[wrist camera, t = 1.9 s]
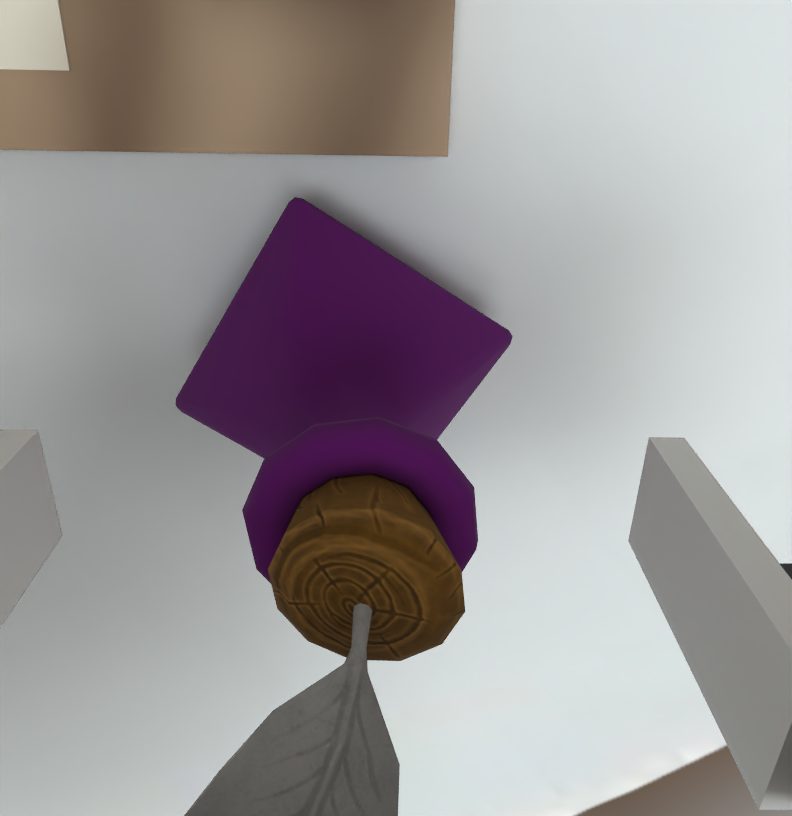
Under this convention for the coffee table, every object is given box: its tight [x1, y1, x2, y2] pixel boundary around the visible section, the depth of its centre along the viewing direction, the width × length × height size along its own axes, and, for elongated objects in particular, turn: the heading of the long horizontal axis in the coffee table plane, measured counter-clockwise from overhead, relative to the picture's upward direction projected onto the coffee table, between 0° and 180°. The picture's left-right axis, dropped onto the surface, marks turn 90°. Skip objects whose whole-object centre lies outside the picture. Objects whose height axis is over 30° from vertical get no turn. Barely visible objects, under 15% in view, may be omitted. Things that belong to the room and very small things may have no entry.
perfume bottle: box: [176, 198, 512, 816], centre depth 16 cm, size 8×8×18 cm
